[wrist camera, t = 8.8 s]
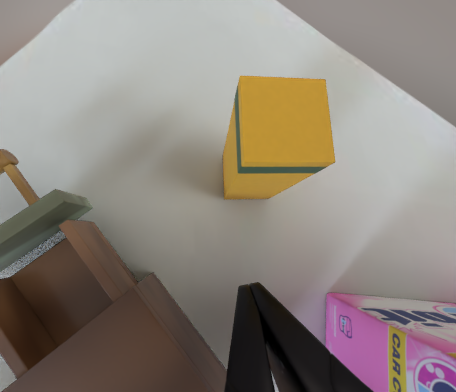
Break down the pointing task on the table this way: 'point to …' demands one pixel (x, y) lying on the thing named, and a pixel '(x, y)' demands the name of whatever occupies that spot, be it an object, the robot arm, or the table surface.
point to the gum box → (394, 341)
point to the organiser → (130, 351)
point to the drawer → (52, 273)
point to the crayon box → (276, 136)
